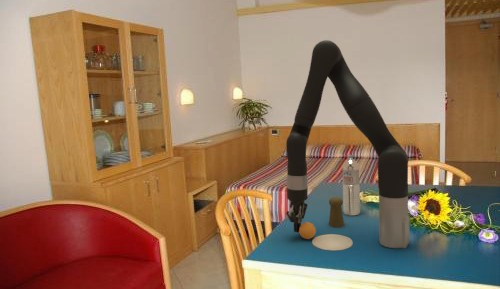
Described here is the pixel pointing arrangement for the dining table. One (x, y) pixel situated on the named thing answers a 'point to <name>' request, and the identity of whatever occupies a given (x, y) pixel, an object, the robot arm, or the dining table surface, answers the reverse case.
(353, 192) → the water bottle
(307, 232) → the ball
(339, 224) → the brown rounded upright piece
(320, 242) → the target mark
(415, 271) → the dining table surface
